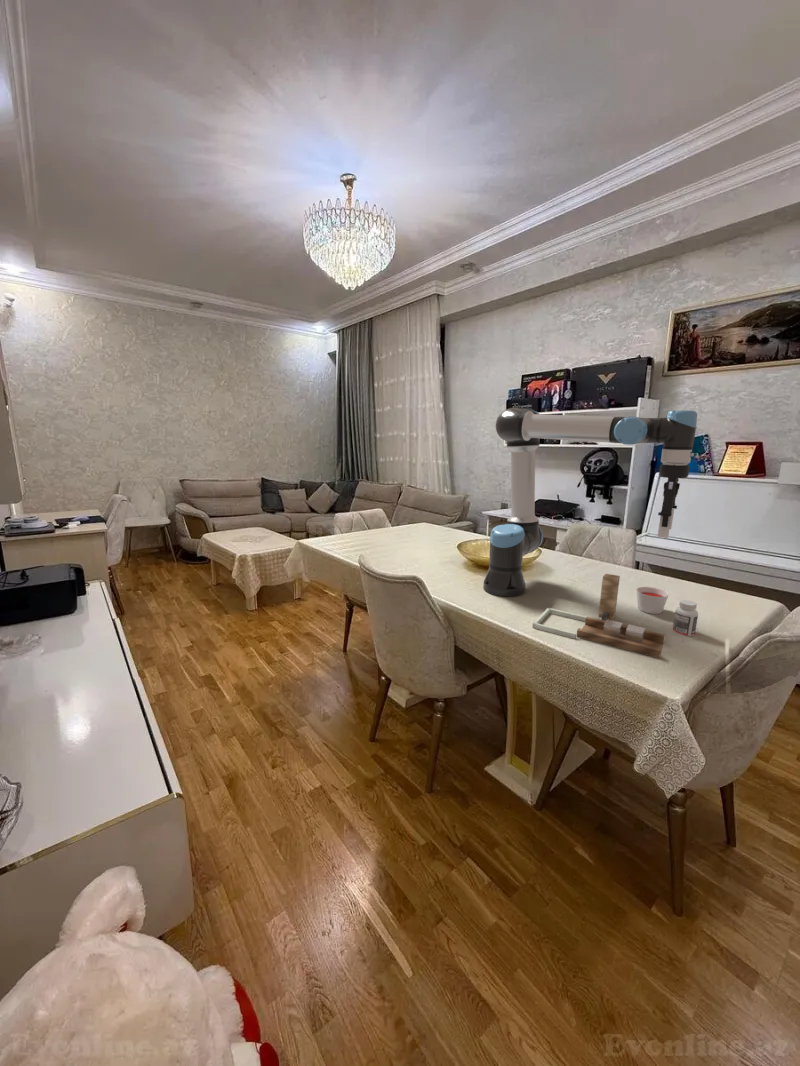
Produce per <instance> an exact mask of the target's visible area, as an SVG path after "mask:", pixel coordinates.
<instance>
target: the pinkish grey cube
mask: <svg viewBox="0 0 800 1066" xmlns="http://www.w3.org/2000/svg"><path fill="white" fill-rule="evenodd" d="M627 626H628V627H627V629H626V635H625V640H628V641H632V642H636V643H640V644H643V640H644V633H645V630H646V628H645V627H641V626H637V625H633V624H627Z"/></svg>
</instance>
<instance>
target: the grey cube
mask: <svg viewBox="0 0 800 1066" xmlns="http://www.w3.org/2000/svg"><path fill="white" fill-rule="evenodd" d="M622 625H624V624H623V622H620V621H615V620H609V619H608V620H606V622H605V624H604V629H603V634H604V635H608V636H612V637H616V638H620V637H621V632H622Z"/></svg>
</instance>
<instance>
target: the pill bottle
mask: <svg viewBox="0 0 800 1066" xmlns="http://www.w3.org/2000/svg"><path fill="white" fill-rule="evenodd" d="M678 605H679V607H677V608H676V609H675V612H674V619H673V626H672V630H673V631H674V633H677V634H680V635H683V636H694V635H695V634H696V630H697V623H698V617H699V612H698V610H697V605H698V604H697V603H696V602H695V601H692V600H689V599H688V600H687V599H681V600H680V601H679V604H678Z"/></svg>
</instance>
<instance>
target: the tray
mask: <svg viewBox="0 0 800 1066" xmlns="http://www.w3.org/2000/svg"><path fill="white" fill-rule="evenodd" d="M549 614H551V615H556V616H560V617H564V618H569V619H573V620H577V621H581V622H585V620H586V617H587V616H586V615H581V614H577V613H574V612H573V613H572V612H569V611H568V612H567V611H564V610H559V609H556V608H552V607H547V608H546V609H545V610H544V611H543V612H542V613H541V614H540V615H539V616H538V617H536V618H537V619H535V621H534V622H533V623H532V626H531V627H532V628H533V629H536V630H541V631H544V632H547V633H552V634H556V635H559V636H562V637H566V638H567V637H568V638H570V639H575V640H576V638H577V632H572V631H569V630H564V629H561V628H557V627H553V626H549V625H545V624H541V623H542V622H543V620H544V619H545V618H546V617H547V616H548V615H549Z"/></svg>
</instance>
